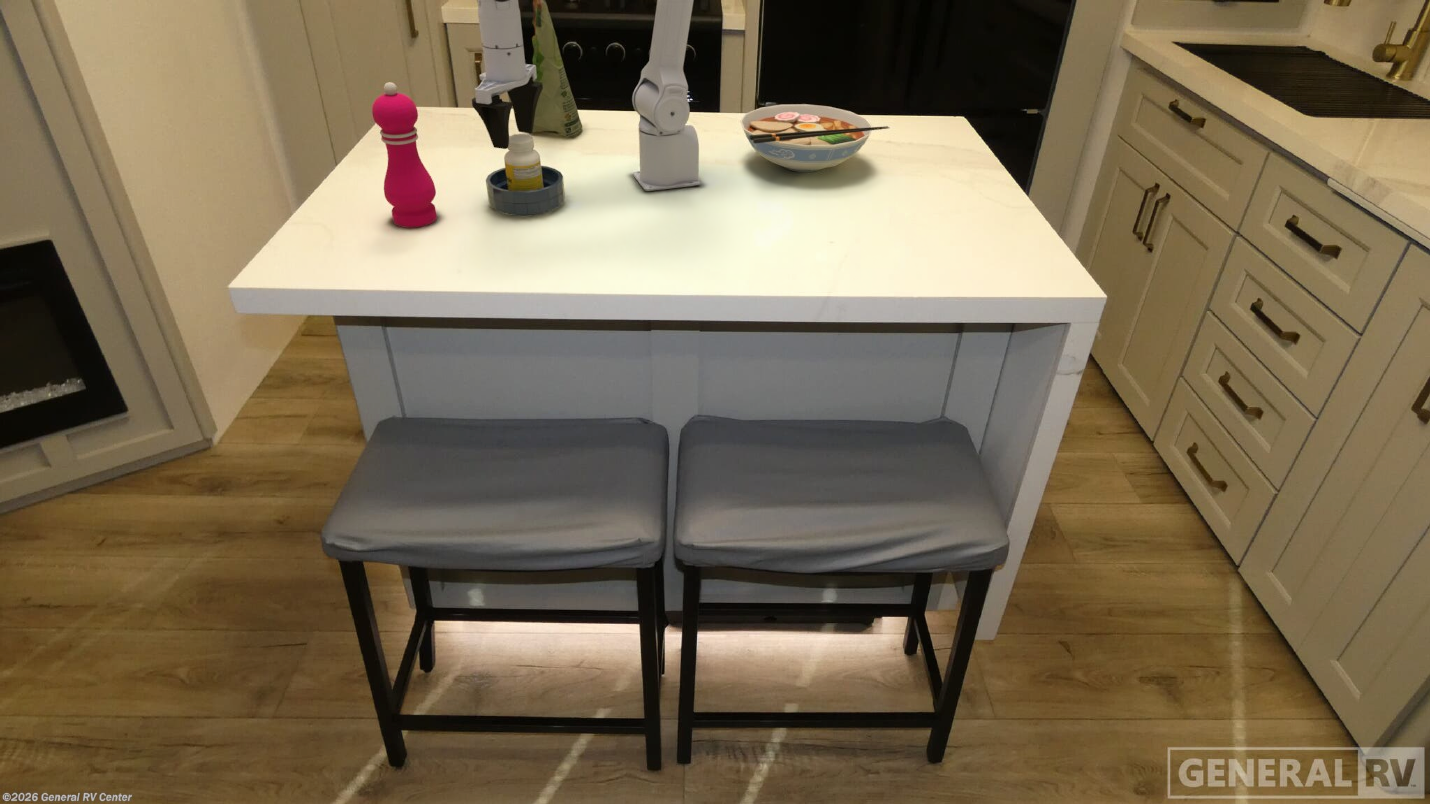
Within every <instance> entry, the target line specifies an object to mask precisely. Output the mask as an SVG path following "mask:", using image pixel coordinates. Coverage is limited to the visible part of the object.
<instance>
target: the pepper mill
mask: <svg viewBox="0 0 1430 804" xmlns="http://www.w3.org/2000/svg"><path fill="white" fill-rule="evenodd" d="M383 91H384V94H381V95H379V96H378V97H377V98H375V100H374V101H373V104H372V108H371V114H372V118H373V119H372V120H374V123H375V124H376V125H377V126H378V127H379V128H380V131H379V134H380V135H381V138H380V140H381V141H382V143H384V144H385V148H386V152H387V154H386V155H387V166H386V172H385V176H384V181H383V195H384V198H385V200H386V201H387V203H388V204H389V205H391V206H392V209H391V215H392V221H393V223H394V224H395V225H397V226H399V227H403V228H420V227H425V226H428V225H430V224H432V223H434V222H435V221H436V220H437V218H438V215H437V209H436V205H435V204H434V203H432V202H433V201H434V199H435V198H436V195H437V190H436V186H435V182H434V180H433V177H432V176H431V174H430V173H429V171H428V170H427V168H426V167H425V165H424V163H423V161H422V160H421V157H420V154H419V151H418V147H417V141H418V139H419V134H418V128H417V127H416V126H415V124H416V123H417V121H418V118H419V113H418V112H419V111H418V108H417V106H416V104H415V102H414V101H413V99H411V98H410V97H409V96H407V95H406V94H404V93H399V92H398V86H397V85H396V84H395V83H394V82H391V81H388V82H386V83H384V85H383Z"/></svg>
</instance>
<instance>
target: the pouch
mask: <svg viewBox="0 0 1430 804" xmlns="http://www.w3.org/2000/svg"><path fill="white" fill-rule="evenodd" d="M532 11H533V18H532V22H531V24H532V25H533V27H534V35H533V36H532V37H531V41H532V47H533V55H532V59H531V60H532V65H536V73H537V78H536V79H534V80H533V81H535V82H541V83H542V84H543V89H542V91H541V94H540V96H539V99H538V102H537V106H536V111H535V118H534V125H533V131H532V133H535V132H536V133H537V132H542V133H550V134H556V135H557V134H559V135H562V136H563V137H571V136H574V135H577V134H579V133H580V132H581V131H582V129H583V124H582V120H581V118H580V115H579V111H578V107H577V105H576V101H575V98H574V95H573V92H572V90H571V85H570V83H569V79H568V77H567V73H566V70H565V66H564V62H563V59H562V56H561V51H560V48H559V43H558V37H557V35H556V31H555V29H554V24H553V21H552V18H551V14H550V12H549V8H548V4H547V1H546V0H533V1H532Z"/></svg>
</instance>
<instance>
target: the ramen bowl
mask: <svg viewBox="0 0 1430 804" xmlns="http://www.w3.org/2000/svg"><path fill="white" fill-rule="evenodd" d="M739 123H740V125H741V127H742V130H743V132H744V134H745V137H746V138H747V140H748V142H749V144H750V145H751V147H752V149H754V151H755V152H756V153H757V154H758V155H759V156H761V157H762V158H764V159H765V160H767V161H769V162H771V163H772V164H775V165H777V166H780V167H784V168H785V169H787V170H788V171H792V172H798V173H814V172H818V171H820V170H822V169H827V168H832V167H836V166H838V165H839V164H842V163H843V162H845V161H847V160H849V159H852V158H853V157H854V156H855V155H856V154H858V152H859V151H860V150H861V148H862V147H863V146H864V145H865V144H866V142H867V140H869V137H870V135H871V134H872V131H879V130H888V129H890V127H889V126H888V125H887V126H885V125H884V126H873V125H872V124H871V122H870V121H869V120H868V119H867V118H866V117H864V116H861V115H860V114H857V113H855V112H852V111H850V110H846V109H841V108H836V107H834V106H833V107H832V106H827V105H817V104H806V103H801V104H799V103H798V104H797V103H796V104H793V103H791V104H776V105H770V106H763V107H759V108H757V109H754V110H751V111H749V112H746V113H745V114H744V115H743V116H742V117H741V118H740V120H739Z"/></svg>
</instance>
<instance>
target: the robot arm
mask: <svg viewBox="0 0 1430 804" xmlns="http://www.w3.org/2000/svg"><path fill="white" fill-rule="evenodd" d="M476 2H477V15H478V16H477V17H478V25H479V32H480V41H481V47H482V56H483V62H484V71H485V72H483V73H481V74H479V75H478V76H479V80H480V81H481V82H480V84H479V85H478V86H477V87H475V88H474V96H475V97H473V98H472V99H471V106H472V108H473V109H474V110H475V111H476V113H477V114H478V116H479V117H480V119H481V120H482V122H483V124H484V126H485V128H486V131H487V133H488V136H489V139H490V141H491V144H492V146H493V148H496V149H503V150H508V145H509V136H510V116H511V112H512V110H513V114H514V121H515V125H516V128H517V131H518V132H519V133H524V134H532V133H533V132H532V131H533V125H534V118H535V111H536V106H537V102H538V99H539V96H540V94H541V91H542V89H543V84H542V83H541V82H535V81H533V80H534V79H536V78H537V73H536V65H533V64H528V63H526V59H525V47H524V38H523V29H522V21H521V20H522V18H521V17H522V16H521V10H520V5H519V0H476ZM693 7H694V0H657V1H656V7H655V15H654V22H653V30H652V36H651V37H652V38H651V43H650V52H649V59H648V60H649V61H648V62H647V63H646V65H644V67H643V68H642V69H641V71H640V79H639V81H638V82H637V83H638V84H637V85H636V87H635V88H634V91H633V92H632V97H631V101H632V106H633V109H634V111H635V112H636V113H637V114H638V115H639V121H638V145H639V146H638V149H639V152H638V153H639V171H633V172H632V176H633V177H634V178H635V180H636V181H637V182H638V183H639V185H640V186H641V187H642V189H643V190H644V191H646V192H651V191H652V192H653V191H661V190H668V189H669V190H670V189H677V188H687V187H695V186H700V185H701V182H700V180H699V171H700V170H699V169H700V167H699V166H700V165H699V163H700V161H699V160H700V145H699V144H700V143H699V137H698V133H697V130H696V128H695V127H694V126H693V125H692V124H687V123H688V121H689V119H690V114H691V113H690V112H691V109H690V104H689V101H688V91H689V85H688V82H687V79H686V74H685V72H684V65H685V64H684V63H685V58H686V51H687V45H688V38H689V33H690V26H691V19H692V13H693ZM505 93H507V95H508V97H509V100H510V101H504V100H503V99H502V98H501V96H502V95H503V94H505Z"/></svg>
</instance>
